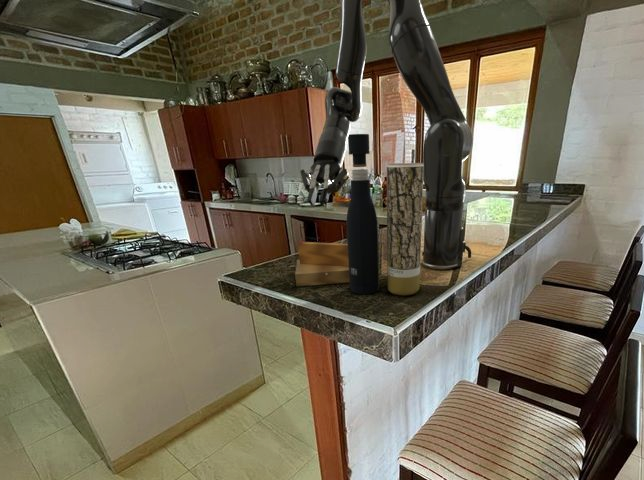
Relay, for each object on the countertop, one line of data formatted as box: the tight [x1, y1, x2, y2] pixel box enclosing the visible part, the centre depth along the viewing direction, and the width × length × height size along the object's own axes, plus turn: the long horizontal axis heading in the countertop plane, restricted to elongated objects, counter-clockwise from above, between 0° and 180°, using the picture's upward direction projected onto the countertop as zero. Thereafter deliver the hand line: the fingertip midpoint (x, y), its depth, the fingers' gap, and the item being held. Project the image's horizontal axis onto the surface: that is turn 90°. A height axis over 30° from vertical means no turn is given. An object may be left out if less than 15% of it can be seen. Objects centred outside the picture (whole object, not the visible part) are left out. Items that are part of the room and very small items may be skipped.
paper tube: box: [386, 162, 424, 297], centre depth 66 cm, size 7×7×25 cm
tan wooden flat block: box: [297, 240, 349, 266], centre depth 80 cm, size 13×2×5 cm, turn 74°
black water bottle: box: [345, 133, 380, 295], centre depth 67 cm, size 6×6×30 cm
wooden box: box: [288, 259, 350, 287], centre depth 82 cm, size 17×17×3 cm
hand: (316, 203), depth 84 cm, fingers closed
